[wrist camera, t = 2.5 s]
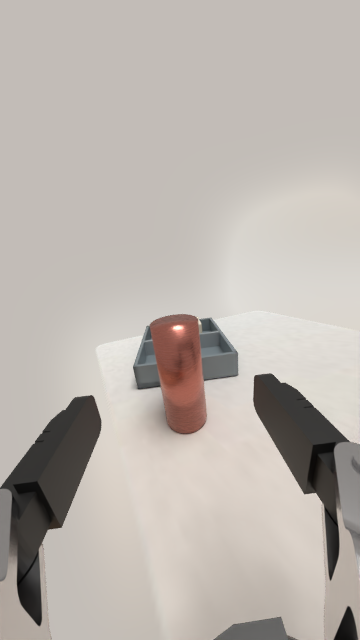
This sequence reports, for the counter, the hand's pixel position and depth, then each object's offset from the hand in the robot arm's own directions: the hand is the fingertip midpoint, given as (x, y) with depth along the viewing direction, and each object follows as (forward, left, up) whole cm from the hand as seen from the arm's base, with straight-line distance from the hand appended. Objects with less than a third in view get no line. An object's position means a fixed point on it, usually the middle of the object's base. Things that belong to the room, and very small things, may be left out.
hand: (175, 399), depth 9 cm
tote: (-1, -29, -14) cm, 33 cm away
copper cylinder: (0, -12, -14) cm, 19 cm away
